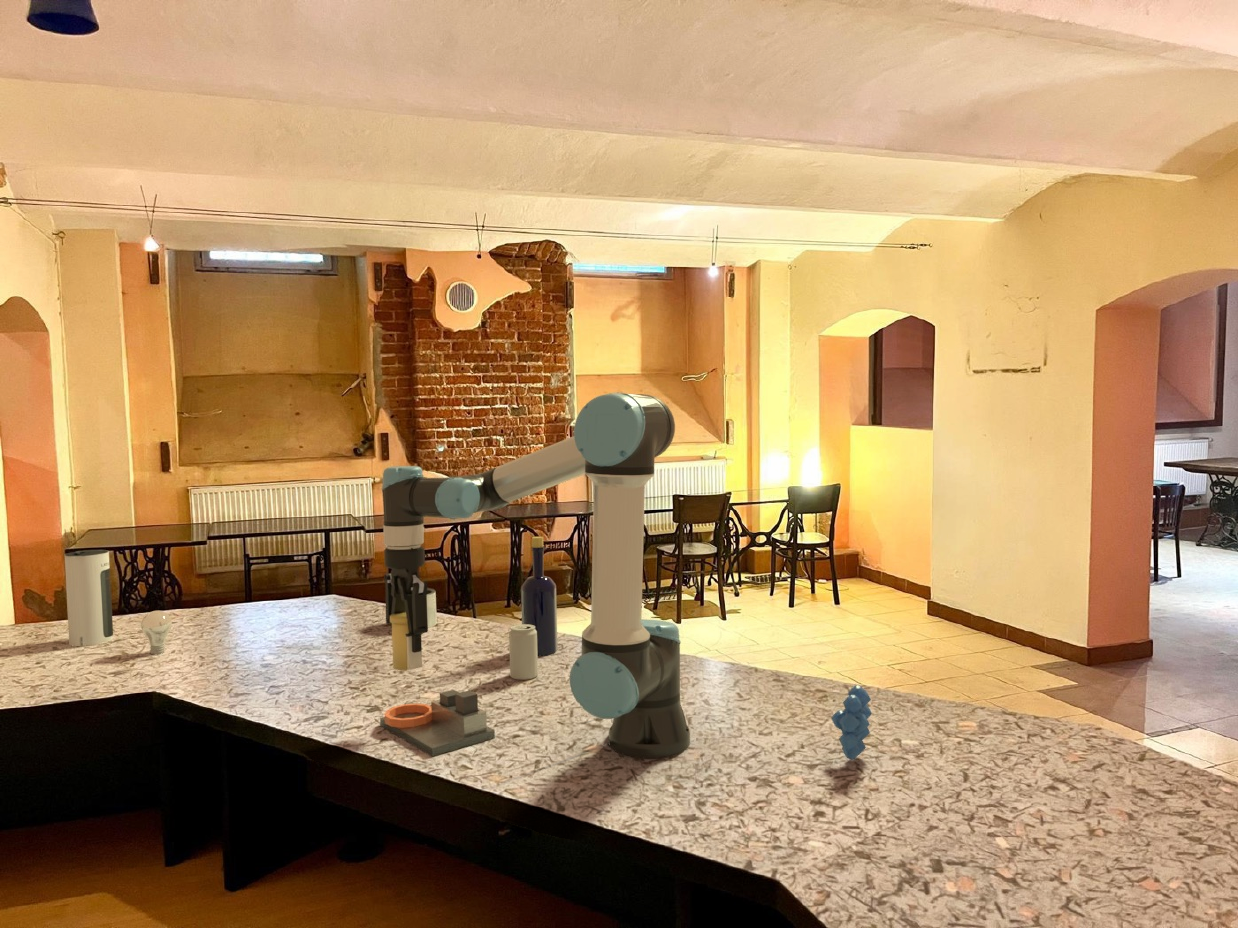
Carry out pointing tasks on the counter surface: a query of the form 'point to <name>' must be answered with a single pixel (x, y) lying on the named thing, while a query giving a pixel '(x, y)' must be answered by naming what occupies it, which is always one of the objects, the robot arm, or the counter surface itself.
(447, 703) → the block
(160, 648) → the light bulb
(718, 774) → the counter surface
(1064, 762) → the counter surface
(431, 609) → the planter
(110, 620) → the speaker
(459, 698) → the block
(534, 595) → the bottle
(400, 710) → the orange ring
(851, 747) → the grapes
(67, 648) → the counter surface
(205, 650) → the counter surface
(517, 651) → the beverage can
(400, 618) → the cap
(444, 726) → the breaker panel
